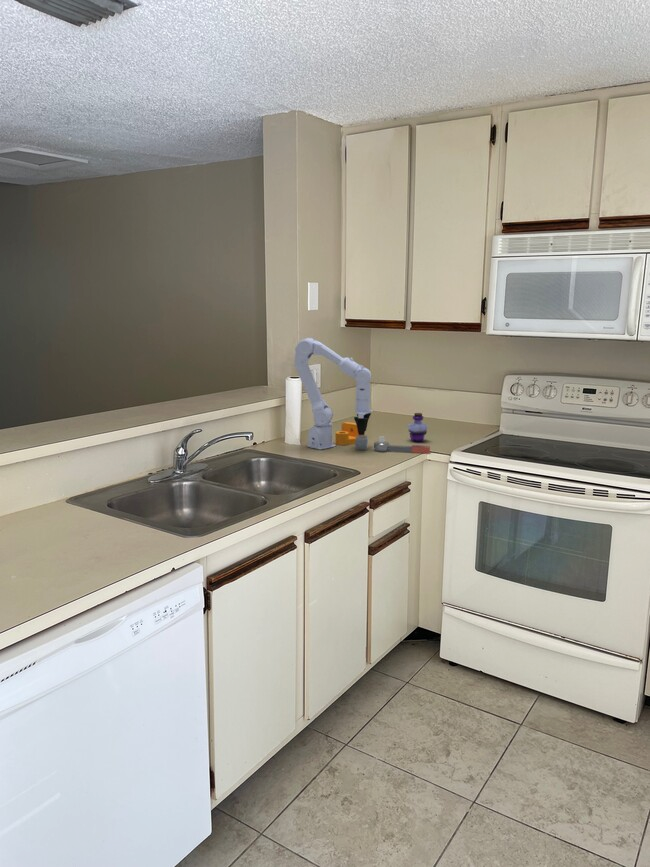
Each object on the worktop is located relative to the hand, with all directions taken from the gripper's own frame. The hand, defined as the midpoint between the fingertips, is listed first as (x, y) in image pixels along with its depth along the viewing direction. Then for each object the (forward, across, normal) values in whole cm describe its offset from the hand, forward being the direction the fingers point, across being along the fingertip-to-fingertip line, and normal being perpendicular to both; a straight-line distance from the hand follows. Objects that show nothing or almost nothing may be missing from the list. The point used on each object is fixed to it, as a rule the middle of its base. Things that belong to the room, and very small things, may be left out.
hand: (362, 432), depth 265 cm
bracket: (+3, +15, +4) cm, 16 cm away
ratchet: (+7, -1, -16) cm, 17 cm away
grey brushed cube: (+6, 0, 0) cm, 7 cm away
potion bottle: (+7, +19, -22) cm, 29 cm away
